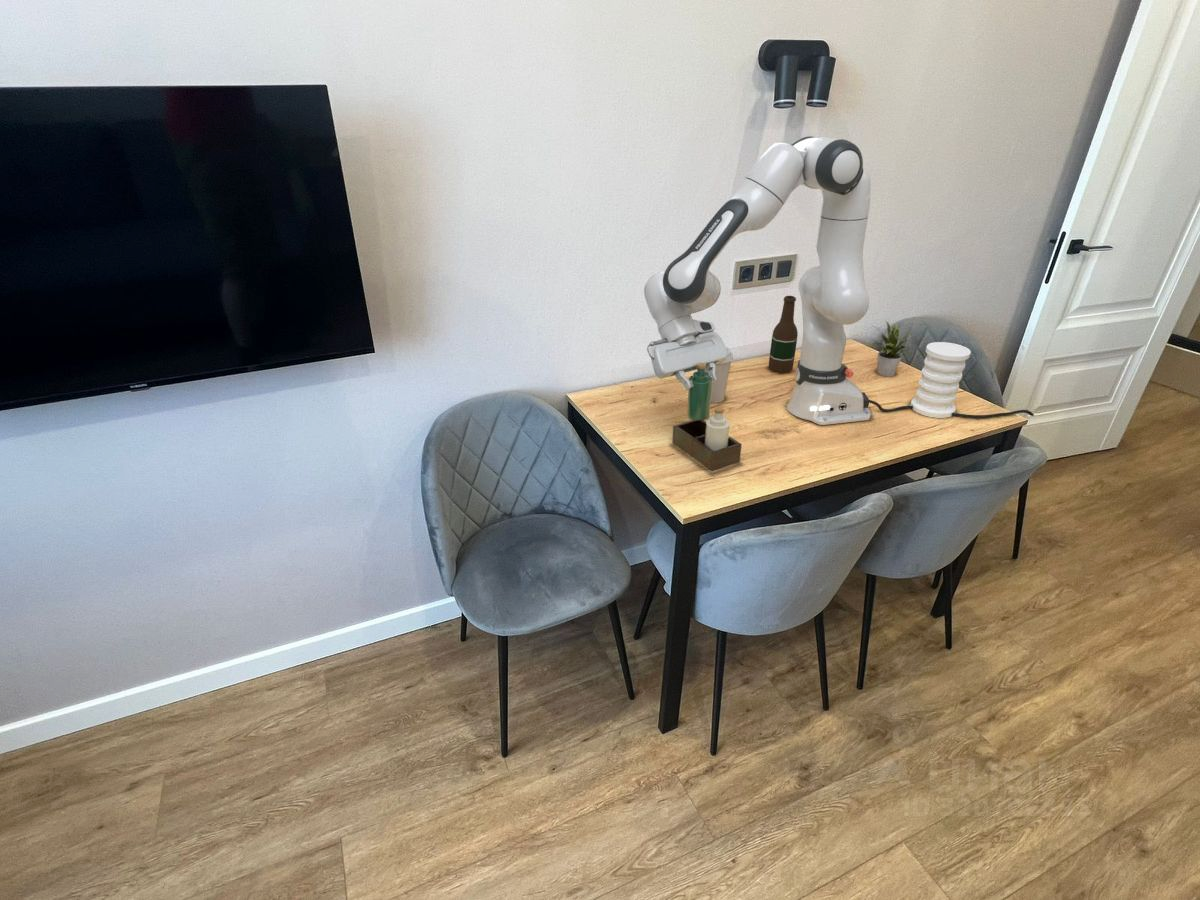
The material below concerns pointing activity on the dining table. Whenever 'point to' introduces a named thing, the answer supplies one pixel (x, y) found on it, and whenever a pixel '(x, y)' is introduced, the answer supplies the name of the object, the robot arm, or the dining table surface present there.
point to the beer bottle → (784, 339)
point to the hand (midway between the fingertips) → (702, 385)
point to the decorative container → (940, 379)
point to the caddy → (704, 446)
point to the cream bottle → (717, 430)
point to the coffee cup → (721, 378)
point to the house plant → (890, 352)
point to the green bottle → (700, 394)
